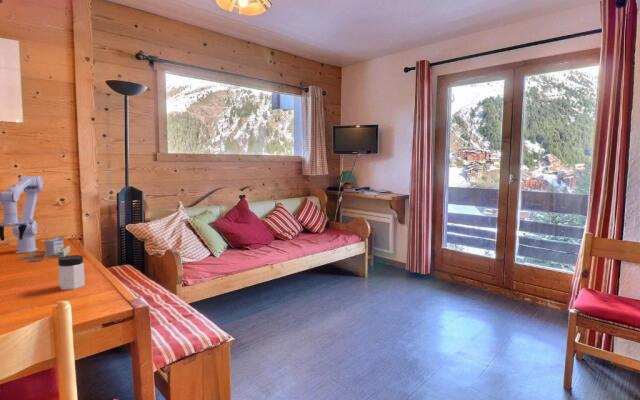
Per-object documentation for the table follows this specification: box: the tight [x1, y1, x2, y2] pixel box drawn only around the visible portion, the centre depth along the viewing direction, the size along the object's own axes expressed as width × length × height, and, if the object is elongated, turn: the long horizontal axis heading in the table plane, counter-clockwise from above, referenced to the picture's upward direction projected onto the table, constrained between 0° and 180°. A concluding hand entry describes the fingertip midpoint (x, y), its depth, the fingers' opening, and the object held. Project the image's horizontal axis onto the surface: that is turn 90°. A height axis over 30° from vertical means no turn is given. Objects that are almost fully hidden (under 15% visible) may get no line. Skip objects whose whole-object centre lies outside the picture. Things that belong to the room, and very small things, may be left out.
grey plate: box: [27, 257, 45, 263], centre depth 196 cm, size 28×7×1 cm, turn 8°
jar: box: [57, 254, 86, 291], centre depth 145 cm, size 9×8×12 cm
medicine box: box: [44, 237, 65, 255], centre depth 197 cm, size 8×4×9 cm, turn 2°
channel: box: [19, 245, 71, 261], centre depth 196 cm, size 14×19×3 cm
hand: (11, 239), depth 190 cm, fingers open, 7 cm apart
